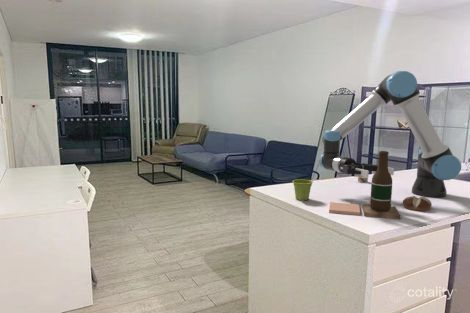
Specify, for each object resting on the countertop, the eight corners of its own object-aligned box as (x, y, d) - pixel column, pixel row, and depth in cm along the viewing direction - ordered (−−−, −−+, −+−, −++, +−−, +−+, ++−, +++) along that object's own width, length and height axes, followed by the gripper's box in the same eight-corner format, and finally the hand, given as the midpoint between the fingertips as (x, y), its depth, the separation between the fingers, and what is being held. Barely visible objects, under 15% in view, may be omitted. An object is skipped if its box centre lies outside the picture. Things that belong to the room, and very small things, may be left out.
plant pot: (312, 202, 150) (313, 183, 149) (291, 201, 152) (292, 182, 151) (311, 197, 159) (312, 179, 158) (292, 196, 161) (292, 178, 160)
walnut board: (395, 209, 138) (395, 206, 138) (400, 219, 126) (400, 215, 126) (362, 207, 142) (362, 203, 142) (364, 216, 130) (364, 212, 130)
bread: (433, 207, 142) (434, 196, 142) (427, 213, 134) (428, 201, 133) (405, 203, 150) (406, 192, 149) (398, 208, 141) (398, 197, 141)
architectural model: (365, 183, 191) (366, 171, 190) (354, 182, 195) (354, 170, 194) (367, 182, 194) (368, 170, 192) (355, 181, 198) (356, 169, 197)
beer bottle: (381, 213, 129) (385, 152, 126) (365, 208, 136) (369, 150, 133) (394, 210, 133) (398, 151, 129) (378, 205, 139) (381, 149, 136)
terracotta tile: (358, 207, 142) (358, 204, 142) (360, 215, 131) (360, 212, 131) (330, 204, 146) (330, 202, 146) (329, 212, 135) (329, 209, 135)
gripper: (364, 171, 157) (402, 179, 138) (322, 175, 148) (356, 184, 128) (365, 155, 156) (403, 162, 137) (323, 158, 147) (357, 165, 127)
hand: (380, 172), depth 133 cm, fingers open, 13 cm apart
